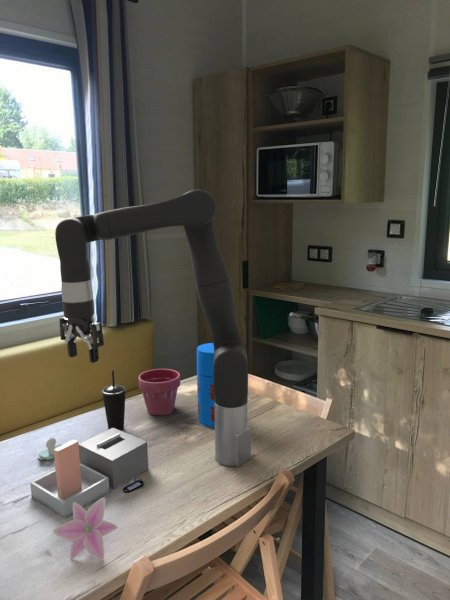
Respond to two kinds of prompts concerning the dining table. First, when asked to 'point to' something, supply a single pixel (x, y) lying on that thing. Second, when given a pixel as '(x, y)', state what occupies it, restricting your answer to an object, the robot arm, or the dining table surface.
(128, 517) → the dining table surface
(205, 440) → the dining table surface
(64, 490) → the tall pink plank
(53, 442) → the pacifier
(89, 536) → the lily
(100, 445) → the dispenser
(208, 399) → the thermos
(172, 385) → the plant pot
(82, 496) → the bin
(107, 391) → the drinking cup
